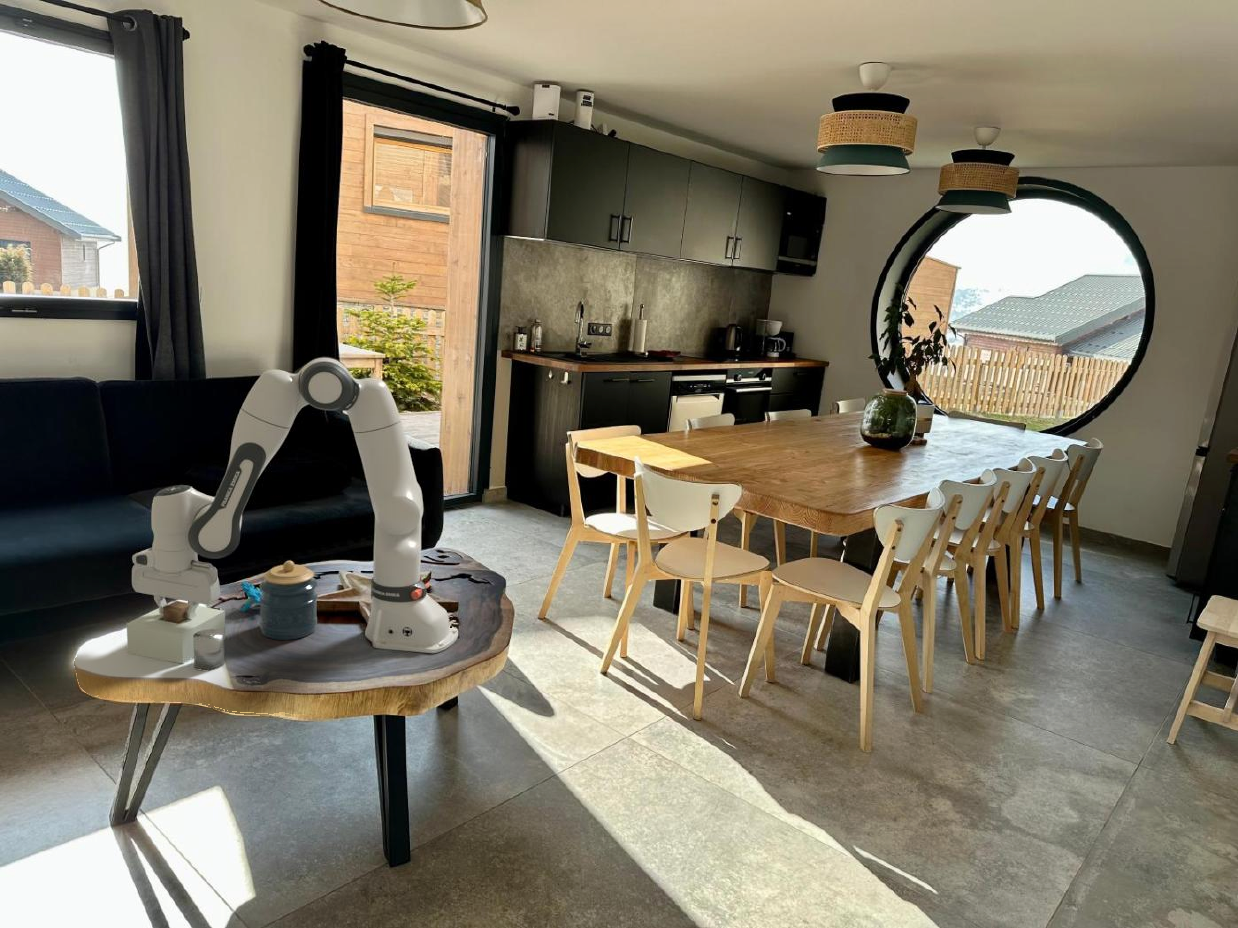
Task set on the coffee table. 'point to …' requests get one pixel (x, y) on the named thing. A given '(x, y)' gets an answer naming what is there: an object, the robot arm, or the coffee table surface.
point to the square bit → (175, 612)
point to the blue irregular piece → (251, 595)
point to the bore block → (170, 634)
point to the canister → (288, 602)
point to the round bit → (208, 649)
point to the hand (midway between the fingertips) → (177, 615)
